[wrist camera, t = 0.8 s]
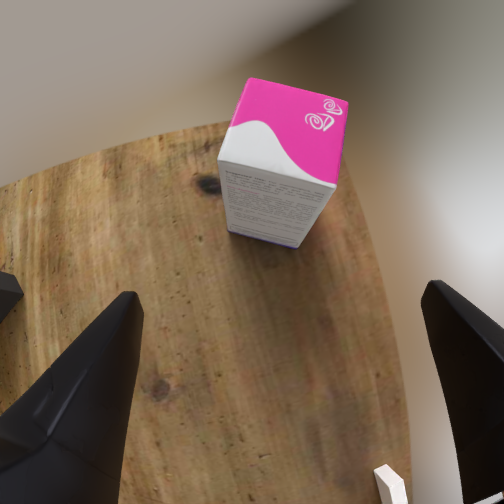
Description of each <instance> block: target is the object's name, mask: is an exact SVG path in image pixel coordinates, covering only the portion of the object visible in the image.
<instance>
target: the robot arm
mask: <svg viewBox="0 0 504 504" xmlns="http://www.w3.org/2000/svg"><path fill="white" fill-rule="evenodd" d="M421 308H422V312H423V316H424V320H425V325H426V329H427V334H428V339H429V343H430V347H431V351H432V354H433V357H434V361H435V364H436V368H437V371H438V375H439V378H440V382H441V386H442V389H443V393H444V397H445V401H446V405H447V410H448V414H449V418H450V423H451V427H452V432H453V437H454V442H455V448H456V453H457V460H458V466H459V472H460V479H461V486H462V495H463V503H464V504H474V503H476V502H479V501H481V500H484V499H486V498H488V497H491V496H493V495H495V494H498V493H500V492H502V494H503V498H501V499H499V500H497V501H496V502H494V503H492V504H504V329H503V328H502V327H501V326H500V325H498V324H497V323H496V322H495V321H494V320H492V319H491V318H490V317H489V316H487V315H486V314H485V313H484V312H482V311H481V310H480V309H479V308H477V307H476V306H475V305H473V304H472V303H471V302H470V301H468V300H467V299H466V298H464V297H463V296H462V295H460V294H459V293H458V292H457V291H455V290H454V289H453V288H451V287H450V286H449V285H447V284H446V283H445V282H443V281H442V280H431V281H430V282H428V284H427V287H426V289H425V291H424V294H423V296H422V298H421ZM143 320H144V312H143V308H142V306H141V303H140V300H139V297H138V294H137V293H136V292H134V291H124V292H122V293H121V294H120V295H119V296H118V297H117V298H116V299H115V300H114V301H113V302H112V303H111V304H110V305H109V306H108V307H107V308H106V309H105V310H104V311H103V312H102V313H101V314H100V315H99V316H98V317H97V318H96V319H95V320H94V321H93V322H92V323H91V324H90V325H89V326H88V327H87V328H86V329H85V330H84V331H83V332H82V333H81V334H80V335H79V336H78V337H77V338H76V339H75V340H74V341H73V342H72V343H71V344H70V345H69V347H68V348H67V349H66V350H65V351H64V352H63V353H62V354H61V355H60V356H59V357H58V358H57V359H56V360H55V362H54V363H53V364H52V365H51V366H50V368H48V369H47V370H46V371H45V372H44V373H43V374H42V376H41V377H40V378H39V379H38V380H37V381H36V382H35V383H34V384H33V385H32V386H31V387H30V388H29V389H28V390H27V391H26V392H25V393H24V394H23V395H22V396H21V397H20V398H19V399H18V400H17V401H16V402H15V403H13V404H12V405H11V406H10V407H9V408H8V409H7V410H6V411H5V412H4V413H3V414H2V415H1V416H0V504H118V497H119V488H120V483H119V482H120V478H121V469H122V462H123V454H124V447H125V440H126V434H127V427H128V421H129V415H130V409H131V403H132V398H133V392H134V387H135V382H136V377H137V371H138V366H139V360H140V350H141V339H142V329H143Z"/></svg>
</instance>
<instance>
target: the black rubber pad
mask: <svg viewBox="0 0 504 504" xmlns="http://www.w3.org/2000/svg"><path fill="white" fill-rule="evenodd" d="M23 295H24V294H23V292H22V290H21V288H20V286H19V284H18V282H17V279H16V277H15V276H14V275H11V274H8V273H4V272H1V271H0V323H1V322H2V320H3V319H4V318H5V317H6V315H7V314H8V313H9V312H10V310H11V309H12V308H13V307H14V305H15V304H16V303H17V302H18V301H19V300H20V298H21V297H22V296H23Z"/></svg>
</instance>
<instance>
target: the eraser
mask: <svg viewBox="0 0 504 504" xmlns="http://www.w3.org/2000/svg"><path fill="white" fill-rule="evenodd" d="M374 474H375V478H376V481H377V485H378V489H379V493H380V497H381V501H382V504H408V502H407V497H406V492H405V487H404V482H403V479H402V478H400V477H399V476H398V475H397V474H396V473H395V472H394V471H393V470H392V469H391V468H390V467H389V466H388V465H387V464H385V465H383V466H381V467H379V468H376V469H374Z"/></svg>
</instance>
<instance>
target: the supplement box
mask: <svg viewBox="0 0 504 504" xmlns="http://www.w3.org/2000/svg"><path fill="white" fill-rule="evenodd" d="M347 111H348V102H346V101H343V100H340V99H337V98H333V97H330V96H326V95H322V94H318V93H314V92H310V91H306V90H302V89H298V88H294V87H291V86H286V85H282V84H278V83H274V82H269V81H265V80H260V79H256V78H249V79H248V80H247V82H246V84H245V86H244V89H243V91H242V94H241V96H240V99H239V101H238V104H237V106H236V109H235V112H234V114H233V117H232V119H231V122H230V125H229V127H228V130H227V133H226V136H225V138H224V141H223V144H222V147H221V149H220V152H219V155H218V159H217V162H218V169H219V176H220V182H221V189H222V196H223V202H224V208H225V214H226V221H227V231H228V232H231V233H234V234H238V235H242V236H247V237H250V238H254V239H258V240H262V241H265V242H269V243H273V244H276V245H280V246H284V247H288V248H292V249H297V248H298V247H299V245H300V244H301V242H302V241H303V239H304V238H305V236H306V235H307V233H308V232H309V230H310V229H311V227H312V225H313V224H314V223H315V221H316V219H317V218H318V216H319V215H320V213H321V211H322V210H323V208H324V207H325V205H326V203H327V202H328V200H329V199H330V197H331V196H332V194H333V192H334V191H335V189H336V186H337V181H338V175H339V169H340V163H341V156H342V149H343V142H344V134H345V127H346V120H347Z"/></svg>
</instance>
